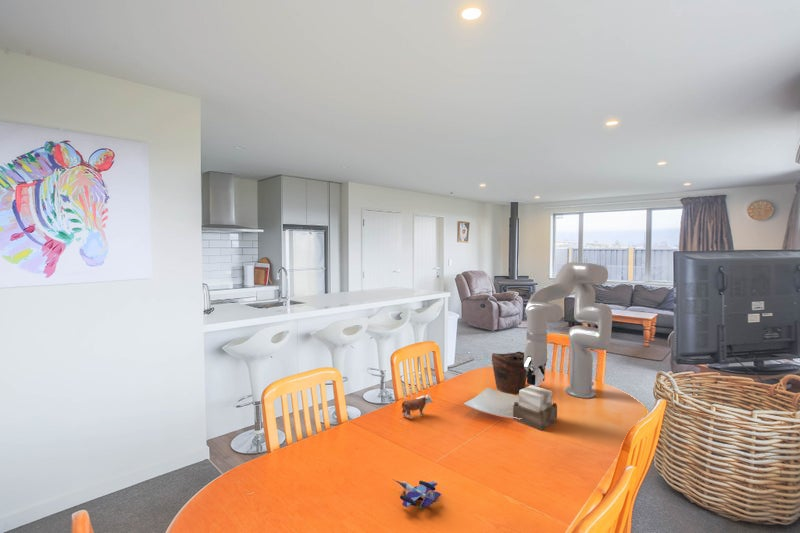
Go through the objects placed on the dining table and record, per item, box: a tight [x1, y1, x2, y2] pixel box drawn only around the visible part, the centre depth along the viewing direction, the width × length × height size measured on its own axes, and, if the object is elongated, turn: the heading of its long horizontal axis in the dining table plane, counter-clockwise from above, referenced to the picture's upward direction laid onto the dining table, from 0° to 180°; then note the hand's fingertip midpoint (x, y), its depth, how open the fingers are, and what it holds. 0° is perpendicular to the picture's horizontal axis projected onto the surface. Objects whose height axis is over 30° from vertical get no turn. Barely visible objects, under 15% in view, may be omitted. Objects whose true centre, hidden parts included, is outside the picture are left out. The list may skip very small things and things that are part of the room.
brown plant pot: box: [491, 351, 532, 394], centre depth 192 cm, size 18×20×18 cm
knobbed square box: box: [512, 384, 558, 431], centre depth 157 cm, size 12×12×12 cm
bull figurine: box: [401, 394, 434, 420], centre depth 162 cm, size 4×13×8 cm, turn 112°
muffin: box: [530, 367, 545, 387], centre depth 157 cm, size 6×6×7 cm
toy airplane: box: [393, 479, 442, 511], centre depth 109 cm, size 13×14×4 cm
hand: (535, 381), depth 157 cm, fingers closed on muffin, 6 cm apart
